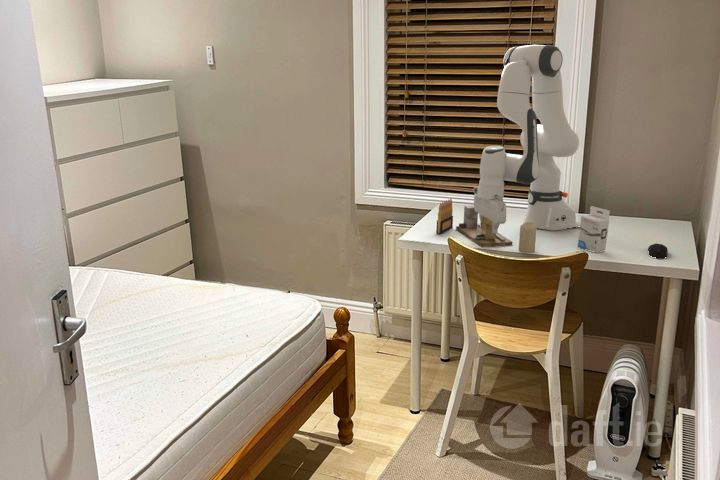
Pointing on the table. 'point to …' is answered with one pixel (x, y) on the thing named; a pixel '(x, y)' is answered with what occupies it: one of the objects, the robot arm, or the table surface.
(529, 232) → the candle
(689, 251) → the table surface
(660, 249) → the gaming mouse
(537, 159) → the robot arm
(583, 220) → the ink box
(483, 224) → the block
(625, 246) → the table surface
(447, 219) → the ammunition clip
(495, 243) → the gauge board
